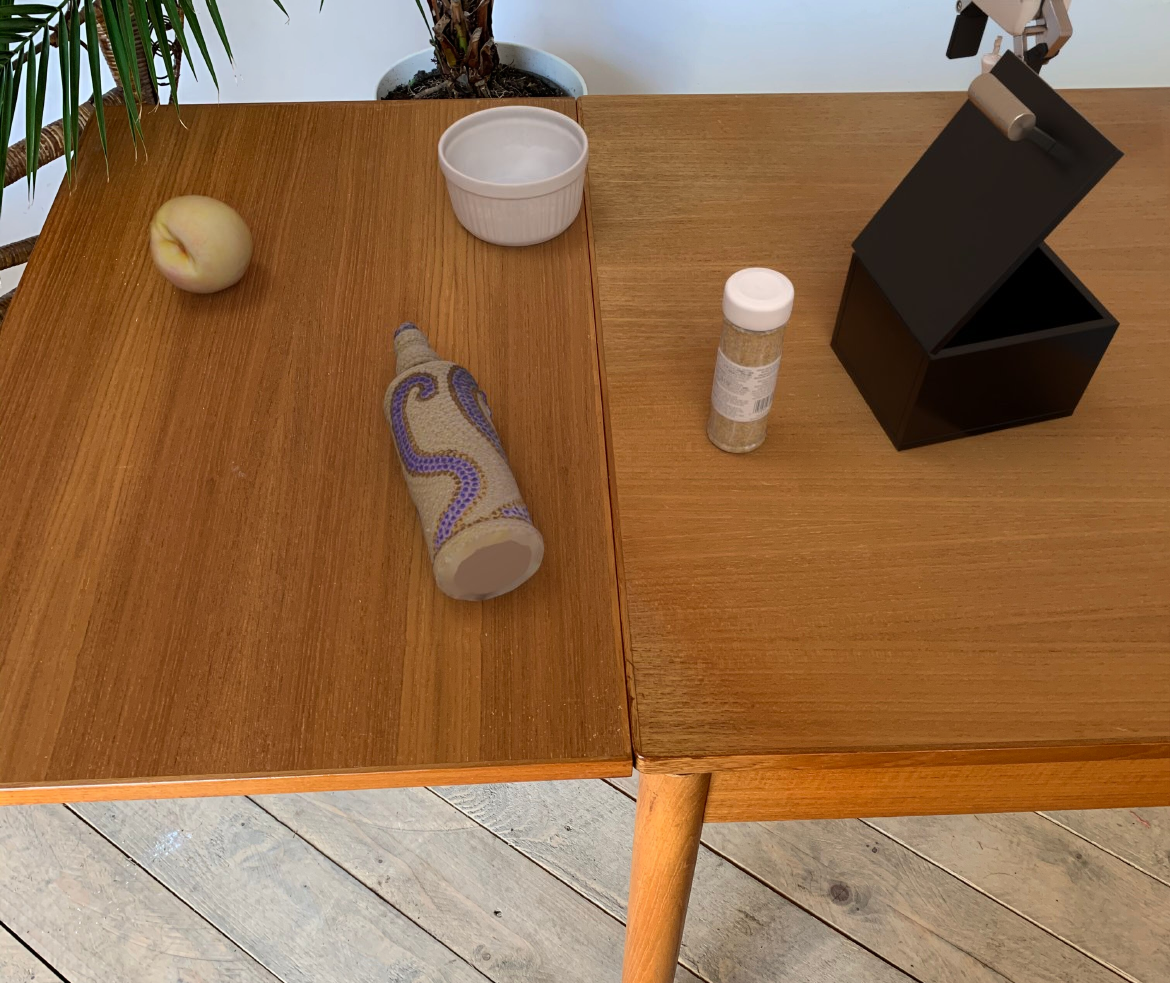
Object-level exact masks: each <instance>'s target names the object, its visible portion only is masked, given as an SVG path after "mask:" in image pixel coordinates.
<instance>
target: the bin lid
mask: <svg viewBox="0 0 1170 983" xmlns="http://www.w3.org/2000/svg"><path fill="white" fill-rule="evenodd" d="M1001 56H1002V57H1001V58H1000V59H999V61H998V62H997V63H996V64H995V66H994V67H993V68H992V69H991V71H990V72H989V73H983V74H982V73H981V74H979V75H977V76H976V77H975V78H974V79H973V80H972V81H971V82H970V84H969V86H968V88H967V99H966V100H965V102H963V104H962V105H961V107H960V108H959V109H958V110H957V112H956V113H955V114H954V115H953V116H952V117H951V119H950V120H949V122H948V123H947V124H946V125H945V127H944V128H943V129H942V130H941V132H940V133H939V134H938V135H937V136H936V138H935V139H934V140H933V142H932V143H931V144H930V145H929V147H928V148H927V149H926V150H925V152H923V154H922V155H921V157H919V159H918V160H917V162H916V163H915V164H914V165H913V166H912V168H911V169H910V170H909V172H908V173H907V174H906V175H905V176H904V177H903V179H902V180H901V181H900V183H899V184H898V185H897V186H896V188H895V189H894V190H893V191H892V192H891V194H890V195H889V196H888V197H887V199H886V200H885V201H884V202H883V204H881V206H880V208H879V209H878V210H877V211H876V212H875V213H874V215H873V216H872V217H871V219H870V220H869V221H868V222H867V224H866V225H865V226H864V228H863V229H862V230H861V231H860V233H859V234H858V235H857V236H856V238H855V239H854V240H853V241H852V242H851V244H850V247H851V248H852V249H853V250H854V251H853V252H856V253H857V255H858V256H859V257H860V259H861V260H862V262H863V263H864V264H865V266H866V267H867V268H868V270H869V271H870V273H871V274H872V275H873V277H874V278H875V280H876V281H877V282H878V284H879V285H880V286H881V288H882V289H883V291H884V292H885V293H886V295H887V296H888V298H889V299H890V300H891V302H892V303H893V304H894V306H895V307H896V309H897V310H898V311H899V313H900V314H901V316H902V317H903V318H904V320H905V321H906V322H907V324H908V325H909V327H910V328H911V329H912V331H913V332H914V333H915V335H916V336H917V338H918V339H919V340H920V342H921V343H922V345H923V346H924V347H925V349H926V350H927V351H928V353H930V354H933V355H935V356H936V355H937V354H938V353H939V352H940V351H941V350H942V348H943V347H944V346H945V345H946V344H947V343H948V342H949V341H950V340H951V339H952V338H953V337H954V336H955V335H956V334H957V332H958V331H959V330H960V329H961V328H962V327H963V326H964V325H965V324H966V323H967V322H968V321H969V320H970V319H971V318H972V316H973V315H974V314H975V313H976V312H977V311H978V310H979V309H980V308H981V307H982V306H983V305H984V304H985V303H986V302H987V301H988V299H989V298H990V297H991V296H992V295H993V294H994V293H995V292H996V291H997V290H998V289H999V288H1000V287H1001V286H1002V285H1003V283H1004V282H1005V281H1006V280H1007V279H1008V278H1009V277H1010V276H1011V275H1012V274H1013V273H1014V272H1015V271H1016V270H1017V269H1018V267H1019V266H1020V265H1021V264H1022V263H1023V262H1024V261H1025V260H1026V259H1027V258H1028V257H1029V256H1030V255H1031V254H1032V253H1033V252H1034V250H1035V249H1036V248H1037V247H1038V246H1039V245H1040V244H1041V243H1042V242H1043V241H1045V240H1046V239H1047V238H1048V237H1049V236H1050V235H1051V234H1052V232H1054V230H1056V228H1057V227H1058V226H1059V225H1060V224H1061V223H1062V222H1063V221H1064V220H1065V219H1066V217H1067V216H1068V215H1070V213H1071V212H1072V211H1073V210H1074V209H1075V208H1076V207H1077V206H1078V205H1079V204H1080V203H1081V201H1082V200H1084V198H1085V197H1086V196H1087V195H1088V194H1089V193H1091V191H1092V190H1093V189H1094V188H1095V187H1096V186H1097V185H1098V184H1099V182H1100V181H1101V180H1102V179H1103V178H1104V177H1105V176H1107V174H1108V173H1109V172H1110V171H1111V170H1112V169H1113V168H1114V166H1116V165H1117V163H1118V162H1119V161H1120V160H1121V159H1122V158H1123V157H1124V156H1125V152H1124V151H1122V149H1120V148H1119V147H1118V146H1117V145H1116V144H1115V143H1114V142H1113V141H1112V140H1111V139H1109V137H1107V135H1105V134H1104V133H1103V132H1102V131H1101V130H1100V129H1098V127H1096V126H1095V125H1094V124H1093V123H1092V122H1091V121H1090V120H1089V119H1088V118H1086V116H1084V115H1083V114H1082V113H1081V112H1080V111H1078V110H1077V109H1076V108H1075V106H1073V105H1072V104H1071V103H1070V102H1068V101H1067V99H1065V98H1064V97H1063V96H1062V95H1061V94H1060V92H1058V91H1057V90H1055V88H1053V87H1052V86H1051V85H1050V84H1049V83H1048V82H1047V81H1046V80H1045V79H1044V78H1042V77H1041V75H1040V74H1039V75H1038V74H1037V73H1036V72H1035V71H1033V70H1032V69H1031V68H1030V67H1029V66H1028V65H1027V64H1026V63H1025V62H1024V61H1022V60H1021V59H1020V58H1019V57H1018V56H1017V55H1016V54H1015V53H1014V51H1012V50H1011V49H1009V48H1008V49H1006V51H1005V52H1004V53H1003V54H1002V55H1001Z"/></svg>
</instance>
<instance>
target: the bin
mask: <svg viewBox="0 0 1170 983" xmlns="http://www.w3.org/2000/svg"><path fill="white" fill-rule="evenodd" d="M1120 325H1121V323H1120V321H1119V320H1118V319H1117V318H1116V317H1115V316H1114V315H1113V314H1112V313H1111V312H1110V310H1108V309H1107V308H1106V306H1104V304H1103V303H1102V302H1101V301H1100V300H1099V298H1097V297H1096V295H1095V294H1093V292H1092V291H1091V290H1090V289H1089V288H1088V287H1087V286H1086V284H1084V283H1083V281H1081V279H1080V278H1079V277H1078V276H1077V275H1076V274H1075V272H1073V271H1072V270H1071V269H1070V267H1069V266H1068V265H1067V264H1066V263H1065V262H1064V261H1063V260H1062V258H1060V257H1059V255H1058V254H1057V253H1056V252H1055V251H1054V250H1053V249H1052V248H1051V247H1050V245H1049V244H1048V243H1046V241H1045V240H1044V241H1043V242H1042V243H1041V244H1040V245H1039V246H1038V247H1037V248H1036V249H1035V250H1034V252H1033V253H1032V254H1031V255H1030V256H1029V257H1028V258H1027V259H1026V260H1025V261H1024V262H1023V263H1022V264H1021V265H1020V266H1019V267H1018V269H1017V270H1016V271H1015V272H1014V273H1013V274H1012V275H1011V276H1010V277H1009V278H1008V279H1007V280H1006V281H1005V282H1004V283H1003V285H1002V286H1001V287H1000V288H999V289H998V290H997V291H996V292H995V293H994V294H993V295H992V296H991V297H990V298H989V299H988V301H987V302H986V303H985V304H984V305H983V306H982V307H981V308H980V309H979V310H978V311H977V312H976V313H975V314H974V315H973V316H972V318H971V319H970V320H969V321H968V322H967V323H966V324H965V325H964V326H963V327H962V328H961V329H960V330H959V331H958V332H957V334H956V335H955V336H954V337H953V338H952V339H951V340H950V341H949V342H948V343H947V344H946V345H945V346H944V347H943V348H942V350H941V351H940V352H939V353H938V354H937V355H936V356H935V355H933V354H930V353H928V351H927V350H926V349H925V347H924V346H923V345H922V343H921V342H920V340H919V339H918V338H917V336H916V335H915V333H914V332H913V331H912V329H911V328H910V327H909V325H908V324H907V322H906V321H905V320H904V318H903V317H902V316H901V314H900V313H899V311H898V310H897V309H896V307H895V306H894V304H893V303H892V302H891V300H890V299H889V298H888V296H887V295H886V293H885V292H884V291H883V289H882V288H881V286H880V285H879V284H878V282H877V281H876V280H875V278H874V277H873V275H872V274H871V273H870V271H869V270H868V268H867V267H866V266H865V264H864V263H863V262H862V260H861V259H860V257H859V256H858V255H857V253H856V252H855V251H853V252H852V253H851V257H850V261H849V265H848V270H847V274H846V278H845V281H844V285H843V290H842V293H841V298H840V302H839V307H838V311H837V314H836V318H835V323H834V327H833V331H832V335H831V339H830V344H829V346H830V347H831V349H832V351H833V352H834V353H835V355H836V357H837V358H838V360H839V362H840V363H841V365H842V366H843V368H844V370H845V371H846V373H847V374H848V376H849V377H850V379H851V380H852V382H853V383H854V386H855V387H856V388H857V390H858V392H859V393H860V395H861V396H862V398H863V399H864V401H865V402H866V404H867V405H868V407H869V409H870V410H871V412H872V413H873V415H874V417H875V418H876V419H877V421H878V423H879V424H880V426H881V427H882V429H883V431H884V432H885V434H886V435H887V437H888V438H889V440H890V441H891V443H892V445H893V446H894V448H895V449H896V451H897V452H904V451H909V450H914V449H917V448H923V447H927V446H932V445H937V444H941V443H946V442H952V441H956V440H961V439H966V438H971V437H977V436H980V435H986V434H990V433H995V432H999V431H1000V432H1001V431H1005V430H1010V429H1013V428H1020V427H1024V426H1025V427H1026V426H1029V425H1034V424H1039V423H1044V422H1048V421H1049V422H1050V421H1052V420H1057V419H1062V418H1068V417H1073V415H1074V412H1075V411H1076V409H1077V407H1078V405H1079V403H1080V401H1081V399H1082V397H1083V395H1084V393H1085V392H1086V390H1087V389H1088V386H1089V384H1090V382H1091V380H1092V379H1093V377H1094V375H1095V372H1096V371H1097V369H1098V367H1099V365H1100V363H1101V361H1102V360H1103V357H1104V355H1105V353H1106V352H1107V350H1108V348H1109V346H1110V344H1111V342H1112V340H1113V338H1114V337H1115V335H1116V333H1117V330H1118V329H1119V327H1120Z"/></svg>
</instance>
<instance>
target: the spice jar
mask: <svg viewBox="0 0 1170 983" xmlns="http://www.w3.org/2000/svg"><path fill="white" fill-rule="evenodd" d="M794 300H795V288H794V285H793V283H792V281H791V280H790V279H789V278H788V277H787V276H786V275H784V274H783V273H781V272H779V271H778V270H775V269H771V268H767V267H758V266H757V267H756V266H755V267H747V268H743V269H740V270H738V271H736V272H734V273H733V274H731V275H730V276H729V278H728V279H727V280H726V282H725V284H724V289H723V295H722V303H721V309H722V310H721V311H722V314H723V315H722V316H723V317H722V324H721V332H720V338H719V345H718V349H717V355H716V363H715V368H714V375H713V382H712V389H711V406H710V413H709V419H708V420H707V424H706V434H707V436H708V438H709V441H710V442H711V443H713V444H714V445H715V446H716V447H717V448H718V449H720V450H722V451H725V452H728V453H732V454H733V453H734V454H743V453H744V454H745V453H749V452H752V451H754V450H756V449H758V448H759V447H761V446H762V444H764V441H765V440H766V436H767V424H768V418H769V414H770V411H771V408H772V406H773V405H772V404H773V400H774V395H775V390H776V386H777V385H776V384H777V380H778V376H779V375H778V374H779V370H780V365H781V360H782V355H783V344H784V338H785V332H786V328H787V324H788V322H789V320H790V318H791V315H792V311H793V307H794V306H793V305H794Z"/></svg>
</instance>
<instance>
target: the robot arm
mask: <svg viewBox="0 0 1170 983" xmlns="http://www.w3.org/2000/svg"><path fill="white" fill-rule="evenodd" d="M1071 4H1072V0H956V2H955V12H956V13H957V14H956V17H955V20H954V23H953V27H952V30H951V34H950V38H949V41H948V45H947V48H946V51H945V57H946V58H947V60H957V59H964V58H965V59H966V58H972V57H977V55H978V53H979V50H980V46H981V43H982V40H983V36H984V33H985V30H986V27H987V24H988V21H989V18H990V19H991V20H992V21H994V23H995V24H997V25H998V26H999V27H1000V28H1001V29H1002V30H1003V31H1004V32H1006V34H1009V36H1012V40H1013V41H1012V44H1013V53H1015V54H1016V55H1017V56H1018V57H1019V58H1020V59H1021V60H1022V61H1024V62H1025V63H1026V64H1027V65H1028V66H1029V67H1030V68H1031V69H1032V70H1033V71H1035V72H1036V73H1037V74H1038V75H1039V76H1040V73H1041V70H1042V67H1043V66H1046V65H1048V64H1049V63H1050V61H1051V60H1052V59H1054V58H1056V57H1057V56H1058V55H1059V54H1060V51H1061V50H1062V48H1063V47H1064V46H1065V45H1066V43H1067V42H1068V41H1069V40H1070V39H1071V37H1072V36H1073V33H1074V29H1073V24H1072V21H1071V20H1070V17H1069V16H1070V15H1069V13H1068V11H1069V10H1070V6H1071ZM1032 21H1035V25H1027V24H1030V23H1031V22H1032ZM1028 37H1034V38H1035V45H1034V46H1033V47H1031V48H1029V49H1028Z"/></svg>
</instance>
